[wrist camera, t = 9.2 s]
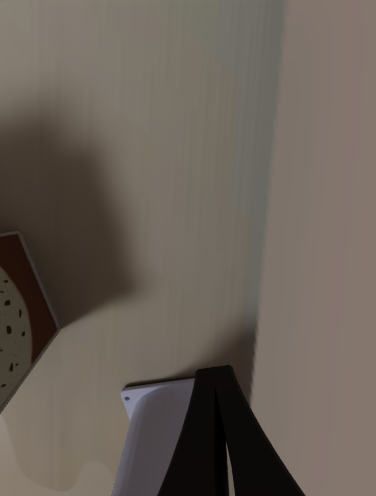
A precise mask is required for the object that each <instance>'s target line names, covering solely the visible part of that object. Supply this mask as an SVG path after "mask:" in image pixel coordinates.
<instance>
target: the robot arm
mask: <svg viewBox="0 0 376 496" xmlns="http://www.w3.org/2000/svg"><path fill="white" fill-rule="evenodd" d="M121 397H122V400H123V403H124V405H125V408H126V411H127V414H128V416H129V419H130V424H129V428H128V432H127V436H126V440H125V444H124V448H123V451H122V455H121V459H120V463H119V467H118V471H117V475H116V479H115V483H114V487H113V491H112V495H111V496H229V483H228V466H227V450H226V442H227V447H228V452H229V456H230V461H231V466H232V474H233V482H234V489H235V496H305V495H304V493H303V492H302V490H301V489H300V487H299V486H298V485H297V483H296V481H295V480H294V479H293V477H292V476H291V474H290V473H289V471H288V470H287V468H286V466H285V465H284V463H283V462H282V461H281V459H280V457H279V456H278V454H277V453H276V451H275V449H274V448H273V446H272V444H271V443H270V441H269V440H268V438H267V436H266V435H265V433H264V431H263V430H262V428H261V426H260V425H259V423H258V421H257V419H256V417H255V416H254V414H253V412H252V410H251V408H250V407H249V405H248V403H247V401H246V399H245V397H244V395H243V393H242V390H241V388H240V386H239V384H238V382H237V379H236V376H235V374H234V371H233V367H232V366H230V365H225V366H218V367H211V368H204V369H198V370H197V371H196V373H195V378H192V379H184V380H177V381H170V382H163V383H155V384H148V385H141V386H133V387H126V388H123V389H122V391H121Z"/></svg>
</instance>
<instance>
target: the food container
mask: <svg viewBox="0 0 376 496" xmlns="http://www.w3.org/2000/svg"><path fill="white" fill-rule="evenodd" d="M60 330H61V327H60V325H59V323H58V320H57V318H56V315H55V313H54V311H53V308H52V306H51V303H50V301H49V299H48V296H47V294H46V291H45V289H44V286H43V284H42V282H41V279H40V277H39V274H38V272H37V270H36V267H35V265H34V262H33V260H32V258H31V255H30V253H29V250H28V248H27V246H26V243H25V241H24V238H23V236H22V233H21V231H20V230H19V231H12V232H6V233H0V414H1V412H2V411H3V409H4V408H5V407H6V405H7V404H8V402H9V401H10V400H11V398H12V397H13V395H14V394H15V393H16V391H17V390H18V388H19V387H20V386H21V384H22V383H23V382H24V380H25V379H26V377H27V376H28V375H29V373H30V372H31V370H32V369H33V368H34V366H35V365H36V363H37V362H38V361H39V359H40V358H41V356H42V355H43V354H44V352H45V351H46V350H47V348H48V347H49V345H50V344H51V343H52V341H53V340H54V338H55V337H56V336H57V334H58V333H59V331H60Z"/></svg>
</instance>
